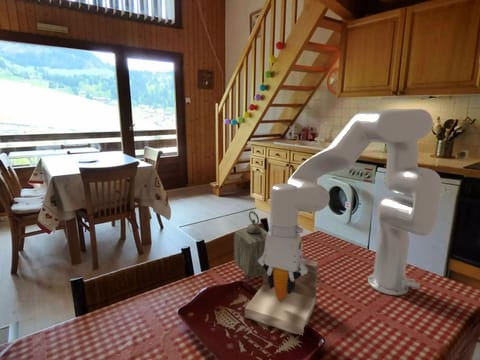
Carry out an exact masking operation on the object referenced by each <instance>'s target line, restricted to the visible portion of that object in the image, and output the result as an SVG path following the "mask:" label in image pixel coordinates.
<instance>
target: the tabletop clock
mask: <svg viewBox="0 0 480 360" xmlns="http://www.w3.org/2000/svg"><path fill="white" fill-rule="evenodd" d="M251 214H253V215H254V216H255V218H256V219H257V222H256V219H252V218H251ZM248 217H249V221H250V222H251V223H250V224H248V225H247V226H246V227H245V228H239V229H238V230H236V231H235V232H234V234H233V259H234V262H235V264H236V266H237V267H238V268H239V269H240V270H241V271H242V272H243V273H244V274H245V275H244V278H245V280H246V281H247V280H250V277H256V276H261V277H262V278H263V273H264V268H263V266H262V265H261V264H260V263H259V262H258V259H259V258H260V257H261V256H262V253H263V252H264V249H265V242H266V237H267V233H268V231H267V230H265V229H263V228H262V227H260V225H259V224H260V223H259V222H260V218H259V215H258V214H257V213H256V212H255V211H253V210H251V211H249V213H248Z"/></svg>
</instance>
